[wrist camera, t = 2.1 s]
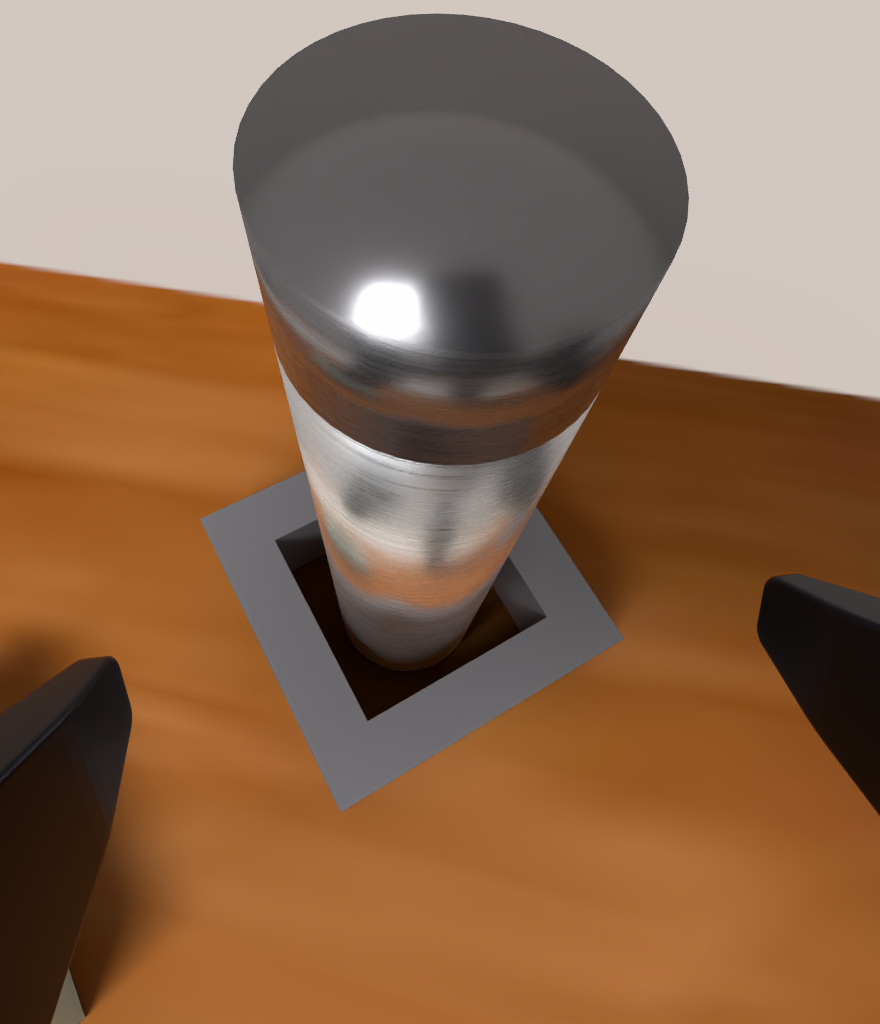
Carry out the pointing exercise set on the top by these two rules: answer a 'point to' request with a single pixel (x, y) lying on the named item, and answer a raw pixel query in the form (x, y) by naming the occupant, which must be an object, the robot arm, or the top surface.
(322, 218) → the steel peg
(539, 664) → the charcoal socket
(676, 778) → the top surface
